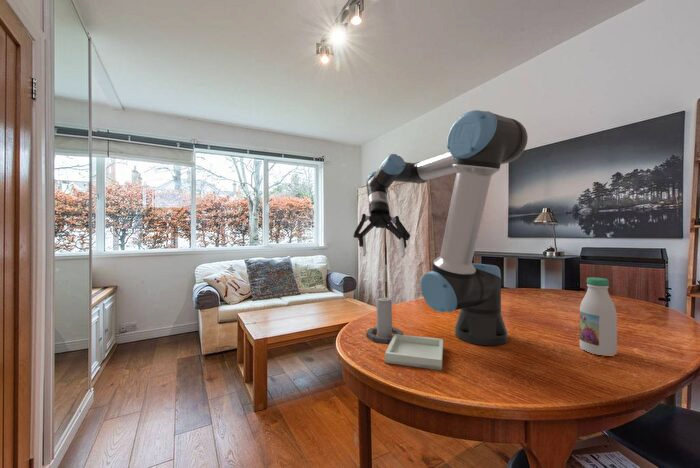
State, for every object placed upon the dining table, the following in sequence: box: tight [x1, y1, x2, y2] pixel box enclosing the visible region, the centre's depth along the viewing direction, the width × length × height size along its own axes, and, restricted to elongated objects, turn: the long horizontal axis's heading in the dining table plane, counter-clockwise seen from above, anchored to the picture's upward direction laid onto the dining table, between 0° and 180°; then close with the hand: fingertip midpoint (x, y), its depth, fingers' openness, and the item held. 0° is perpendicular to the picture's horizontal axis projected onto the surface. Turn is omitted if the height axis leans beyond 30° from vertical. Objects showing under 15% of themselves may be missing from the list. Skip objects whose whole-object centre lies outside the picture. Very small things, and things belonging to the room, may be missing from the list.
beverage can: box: [376, 296, 393, 337], centre depth 93 cm, size 5×5×12 cm
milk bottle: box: [579, 276, 618, 355], centre depth 79 cm, size 8×8×20 cm
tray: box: [384, 333, 444, 371], centre depth 79 cm, size 14×14×2 cm
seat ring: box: [365, 326, 404, 344], centre depth 93 cm, size 11×11×1 cm
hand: (384, 255), depth 98 cm, fingers open, 13 cm apart
